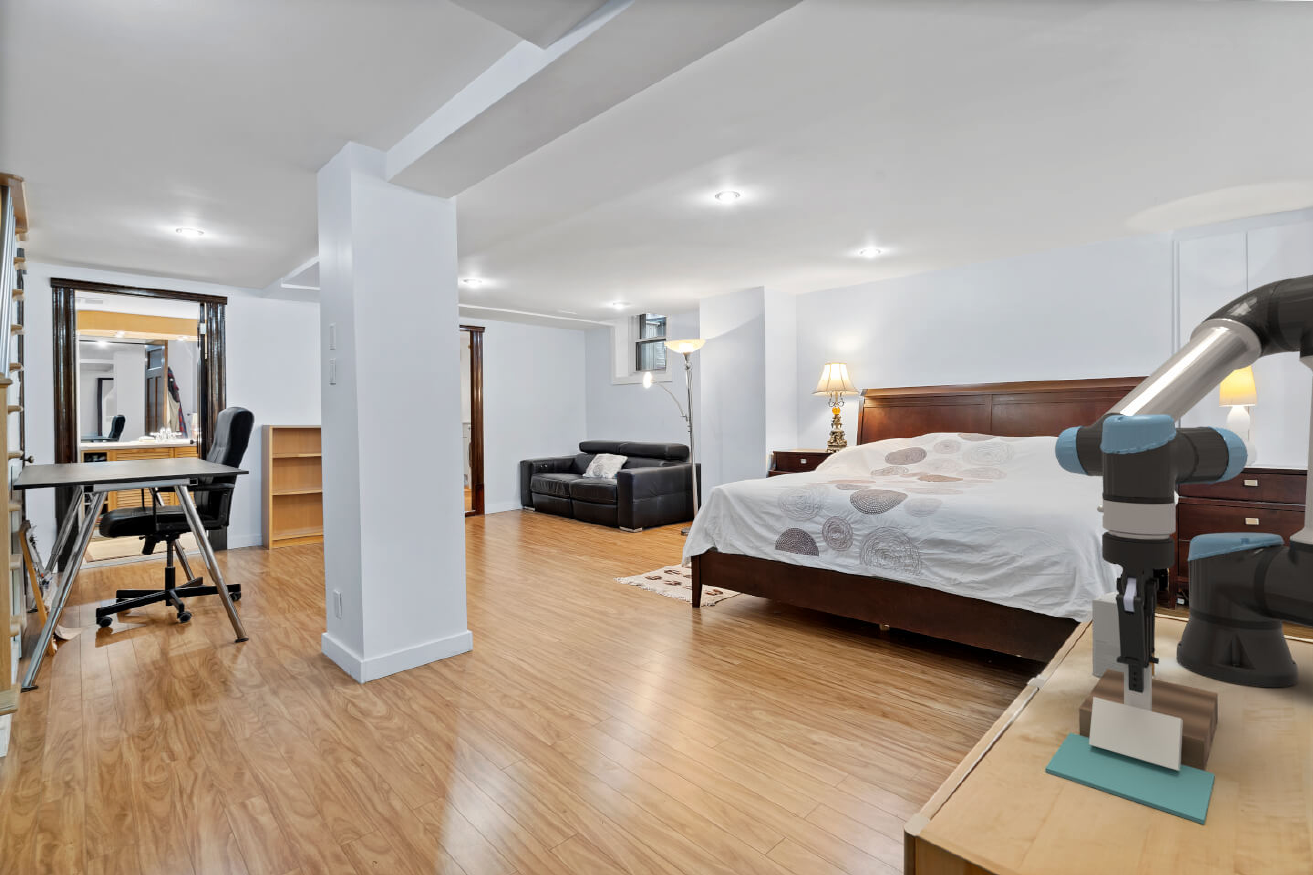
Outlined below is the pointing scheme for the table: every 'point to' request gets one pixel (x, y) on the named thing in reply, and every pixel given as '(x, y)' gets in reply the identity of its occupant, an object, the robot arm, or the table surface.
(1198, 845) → the table surface
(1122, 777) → the teal mat
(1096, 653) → the small box
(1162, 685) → the board
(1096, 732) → the tile
